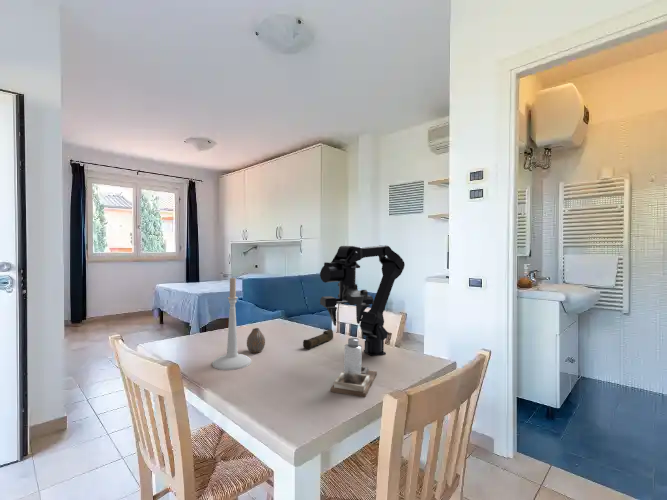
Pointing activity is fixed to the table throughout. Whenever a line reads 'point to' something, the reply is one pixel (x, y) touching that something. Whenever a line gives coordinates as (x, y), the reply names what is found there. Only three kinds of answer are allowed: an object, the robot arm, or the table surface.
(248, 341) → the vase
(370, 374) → the socket board
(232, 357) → the candlestick
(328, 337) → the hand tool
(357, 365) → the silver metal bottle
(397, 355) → the table surface
